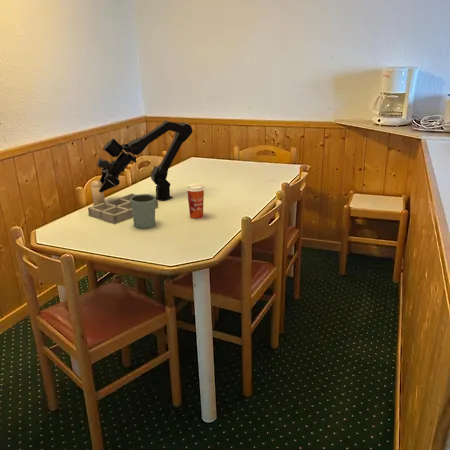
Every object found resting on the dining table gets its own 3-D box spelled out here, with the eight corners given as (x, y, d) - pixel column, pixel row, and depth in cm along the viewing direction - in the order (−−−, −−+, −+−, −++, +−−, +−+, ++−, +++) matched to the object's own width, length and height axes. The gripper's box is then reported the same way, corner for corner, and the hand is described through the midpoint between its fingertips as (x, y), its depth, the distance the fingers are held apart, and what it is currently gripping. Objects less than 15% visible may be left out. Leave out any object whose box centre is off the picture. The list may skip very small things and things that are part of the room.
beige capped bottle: (107, 205, 205) (104, 180, 201) (98, 208, 202) (95, 182, 197) (100, 203, 208) (97, 178, 204) (91, 206, 205) (88, 180, 200)
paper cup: (191, 221, 186) (190, 189, 181) (185, 215, 192) (183, 184, 187) (208, 217, 189) (207, 186, 184) (201, 212, 196) (200, 182, 191)
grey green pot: (135, 220, 187) (133, 193, 183) (159, 220, 187) (157, 193, 182) (130, 229, 178) (127, 201, 173) (155, 229, 177) (153, 201, 173)
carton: (158, 207, 202) (157, 200, 201) (114, 224, 184) (113, 215, 182) (132, 200, 212) (131, 193, 211) (88, 215, 194) (87, 207, 192)
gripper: (104, 148, 206) (82, 173, 206) (109, 156, 190) (85, 183, 190) (122, 163, 211) (101, 187, 212) (129, 172, 195) (106, 199, 196)
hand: (98, 189), depth 202 cm, fingers open, 9 cm apart
